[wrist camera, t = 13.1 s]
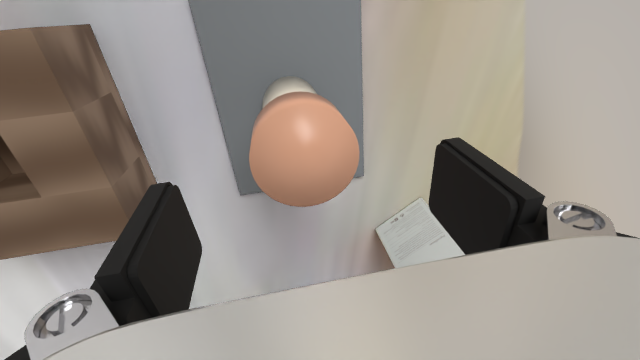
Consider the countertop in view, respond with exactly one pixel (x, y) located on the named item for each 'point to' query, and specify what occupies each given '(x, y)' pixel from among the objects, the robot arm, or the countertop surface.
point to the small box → (416, 237)
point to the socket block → (63, 144)
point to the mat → (278, 62)
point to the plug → (301, 145)
